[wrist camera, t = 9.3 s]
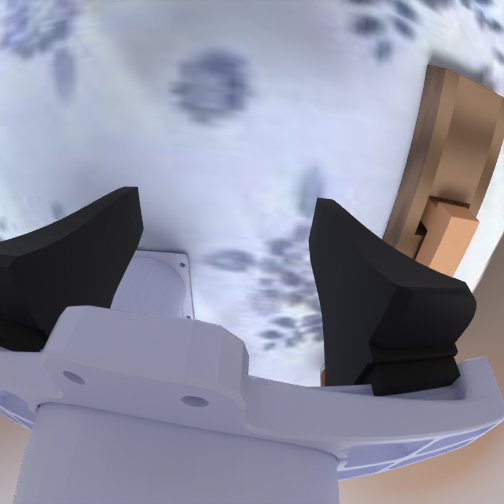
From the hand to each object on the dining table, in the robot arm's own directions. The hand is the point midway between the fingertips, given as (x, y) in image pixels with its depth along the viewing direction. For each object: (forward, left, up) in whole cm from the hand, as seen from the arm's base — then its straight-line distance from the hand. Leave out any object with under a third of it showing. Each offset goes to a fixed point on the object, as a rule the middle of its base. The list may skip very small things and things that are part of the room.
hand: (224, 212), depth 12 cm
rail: (-6, -16, -10) cm, 20 cm away
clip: (-6, -16, -10) cm, 20 cm away
